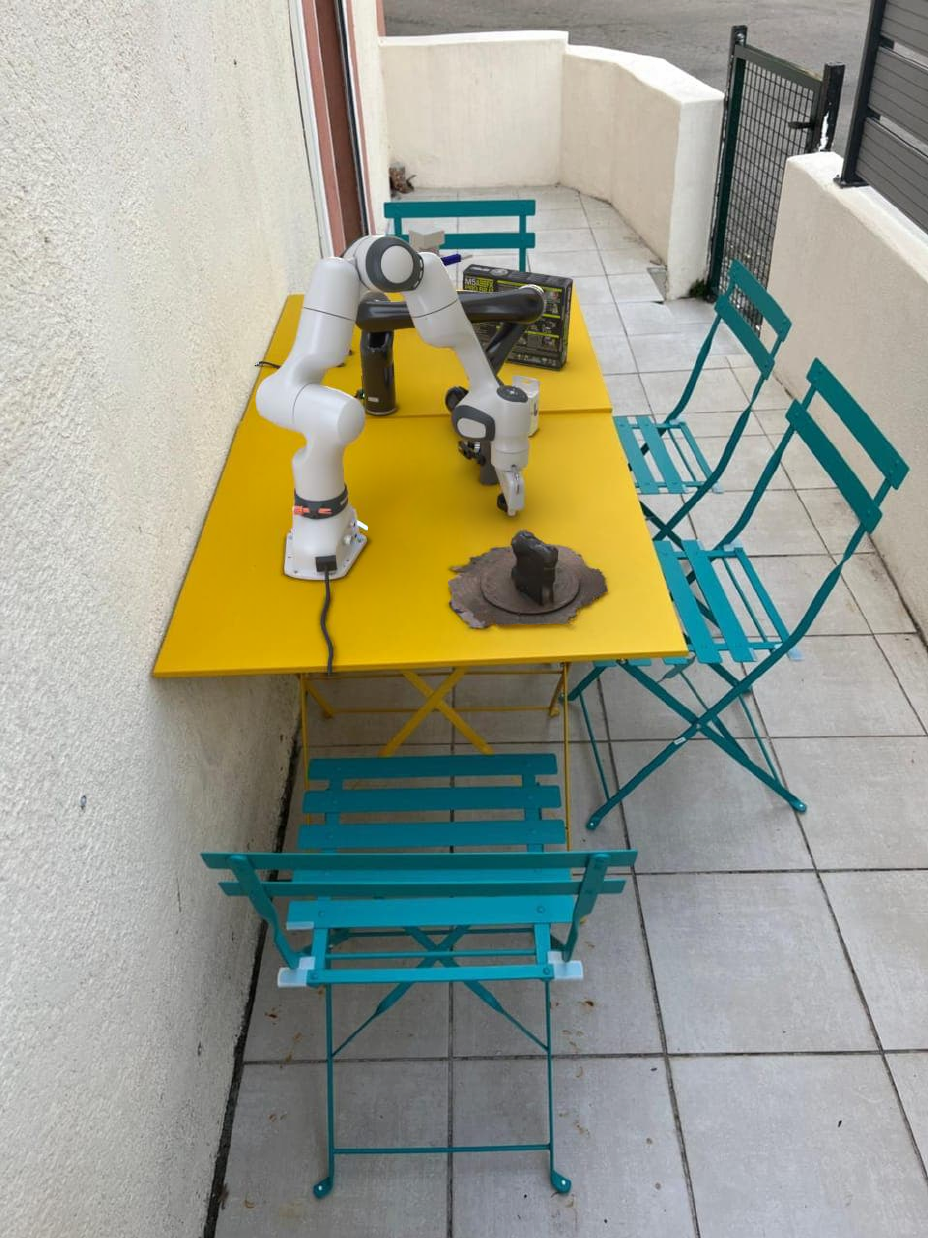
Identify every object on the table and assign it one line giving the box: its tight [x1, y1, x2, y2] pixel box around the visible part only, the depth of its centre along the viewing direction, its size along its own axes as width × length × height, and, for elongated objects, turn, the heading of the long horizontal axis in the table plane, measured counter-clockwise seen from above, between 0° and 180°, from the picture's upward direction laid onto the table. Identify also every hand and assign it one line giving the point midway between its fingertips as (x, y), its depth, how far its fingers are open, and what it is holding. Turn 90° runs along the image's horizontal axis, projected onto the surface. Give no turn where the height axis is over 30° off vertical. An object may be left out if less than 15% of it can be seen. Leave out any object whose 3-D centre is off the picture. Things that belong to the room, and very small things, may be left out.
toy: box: [408, 223, 474, 267], centre depth 298 cm, size 35×10×30 cm, turn 130°
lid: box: [496, 492, 508, 512], centre depth 213 cm, size 6×6×2 cm
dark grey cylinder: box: [480, 442, 500, 486], centre depth 221 cm, size 5×5×19 cm
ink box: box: [511, 374, 541, 437], centre depth 242 cm, size 9×5×15 cm, turn 62°
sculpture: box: [447, 529, 609, 629], centre depth 188 cm, size 33×35×16 cm
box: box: [462, 263, 574, 371], centre depth 275 cm, size 34×7×27 cm, turn 68°
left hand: (508, 505), depth 214 cm, fingers closed on lid, 5 cm apart
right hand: (492, 461), depth 221 cm, fingers closed on dark grey cylinder, 5 cm apart
